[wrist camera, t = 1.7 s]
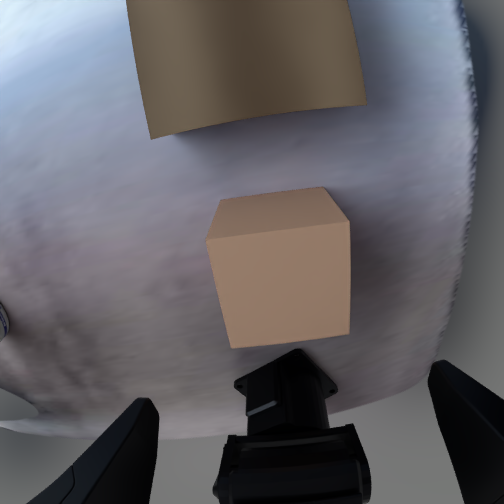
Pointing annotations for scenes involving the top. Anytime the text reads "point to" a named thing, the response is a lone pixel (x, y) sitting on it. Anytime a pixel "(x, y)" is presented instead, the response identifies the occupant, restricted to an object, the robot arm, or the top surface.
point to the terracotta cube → (281, 267)
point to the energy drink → (3, 323)
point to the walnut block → (242, 59)
